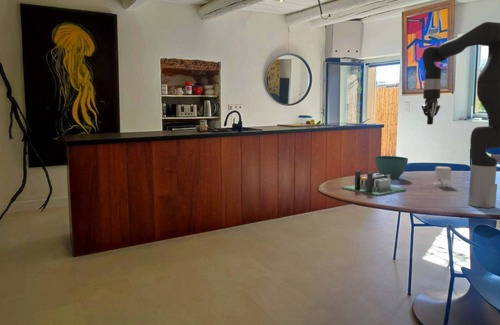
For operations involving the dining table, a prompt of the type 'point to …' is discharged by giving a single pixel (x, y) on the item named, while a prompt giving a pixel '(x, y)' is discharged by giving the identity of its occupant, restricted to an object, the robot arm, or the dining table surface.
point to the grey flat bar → (374, 177)
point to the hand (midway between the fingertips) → (429, 124)
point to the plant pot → (391, 165)
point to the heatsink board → (373, 185)
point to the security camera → (442, 175)
